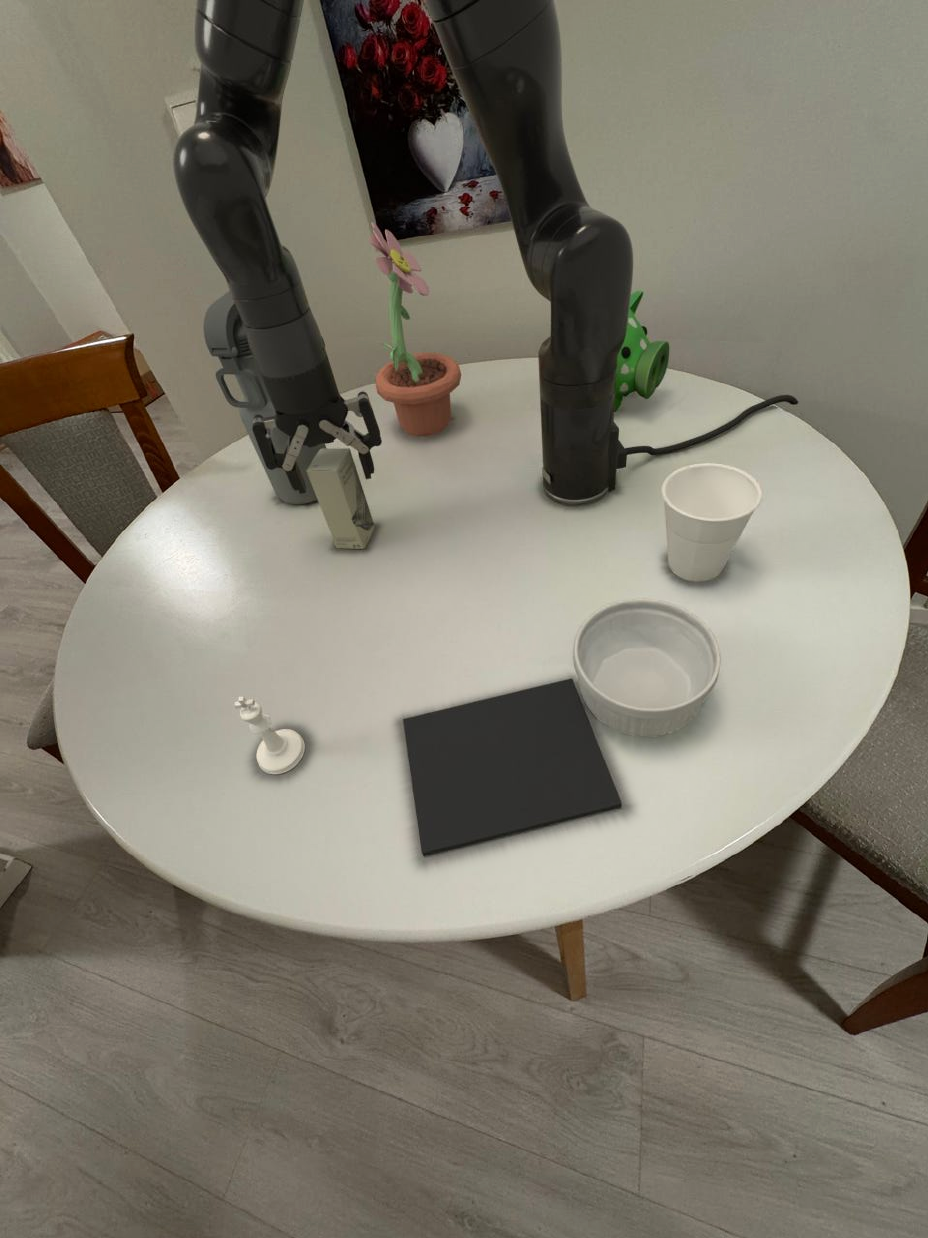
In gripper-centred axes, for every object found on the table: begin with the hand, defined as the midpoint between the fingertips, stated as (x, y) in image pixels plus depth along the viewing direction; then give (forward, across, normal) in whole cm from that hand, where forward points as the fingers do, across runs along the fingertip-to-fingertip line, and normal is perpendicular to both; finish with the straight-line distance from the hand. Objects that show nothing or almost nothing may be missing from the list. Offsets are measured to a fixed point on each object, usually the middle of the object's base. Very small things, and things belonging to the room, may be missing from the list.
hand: (336, 482), depth 75 cm
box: (+10, 0, 0) cm, 10 cm away
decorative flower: (+9, +14, +25) cm, 30 cm away
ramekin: (+9, +27, -35) cm, 45 cm away
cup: (+9, +40, -20) cm, 46 cm away
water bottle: (+10, -7, +15) cm, 19 cm away
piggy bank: (+9, +43, +21) cm, 49 cm away
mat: (+9, +12, -39) cm, 42 cm away
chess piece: (+10, -10, -32) cm, 35 cm away
